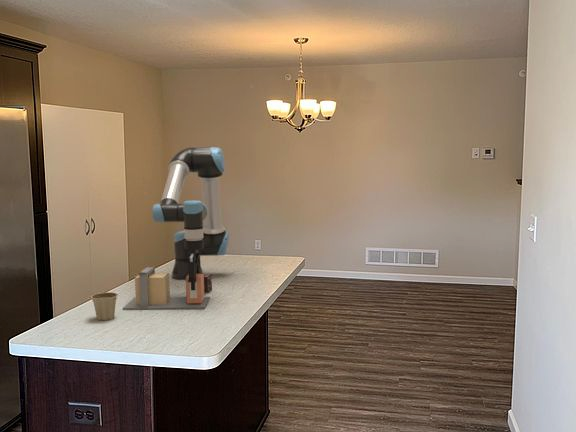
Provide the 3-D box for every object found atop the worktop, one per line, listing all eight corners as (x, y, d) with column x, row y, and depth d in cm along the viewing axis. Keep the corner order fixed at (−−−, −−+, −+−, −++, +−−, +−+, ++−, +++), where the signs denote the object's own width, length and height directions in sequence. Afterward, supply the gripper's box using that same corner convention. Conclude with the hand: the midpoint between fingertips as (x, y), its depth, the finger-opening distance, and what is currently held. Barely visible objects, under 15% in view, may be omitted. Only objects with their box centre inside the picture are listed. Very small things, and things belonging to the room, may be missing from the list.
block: (189, 298, 228) (189, 273, 226) (204, 298, 227) (203, 273, 226) (186, 303, 221) (185, 277, 219) (201, 303, 220) (200, 277, 219)
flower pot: (103, 323, 199) (102, 299, 198) (86, 319, 204) (85, 296, 203) (124, 316, 207) (123, 294, 206) (107, 313, 212) (106, 291, 211)
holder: (134, 299, 232) (132, 265, 231) (210, 298, 232) (209, 265, 231) (122, 309, 216) (121, 274, 215) (204, 309, 216) (203, 273, 215)
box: (207, 293, 241) (207, 277, 241) (194, 293, 243) (194, 276, 242) (212, 290, 247) (211, 274, 247) (199, 289, 249) (199, 273, 248)
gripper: (189, 235, 231) (190, 289, 234) (179, 243, 211) (181, 301, 214) (207, 235, 231) (208, 289, 234) (198, 243, 211) (200, 301, 214)
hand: (195, 295), depth 224 cm, fingers closed on block, 7 cm apart
